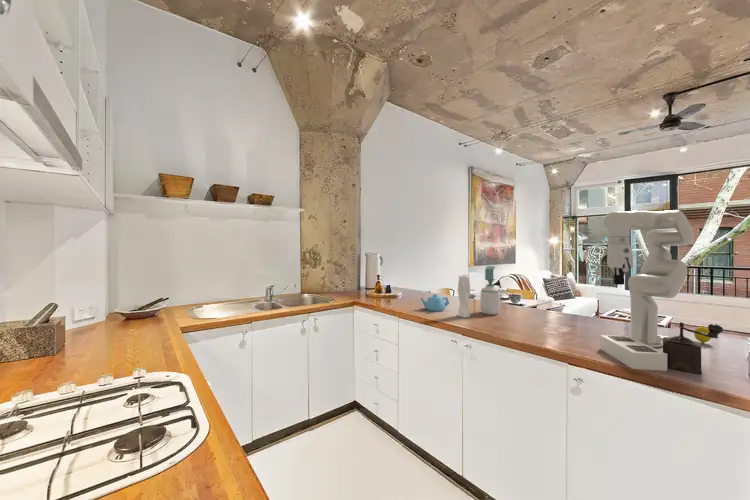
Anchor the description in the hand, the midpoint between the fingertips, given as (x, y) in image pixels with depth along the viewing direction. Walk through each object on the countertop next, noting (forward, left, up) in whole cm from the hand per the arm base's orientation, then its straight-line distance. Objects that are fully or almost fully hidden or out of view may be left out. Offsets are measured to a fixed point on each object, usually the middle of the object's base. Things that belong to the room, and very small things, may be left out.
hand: (619, 284), depth 137 cm
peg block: (0, +9, -29) cm, 30 cm away
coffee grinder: (-15, +17, -29) cm, 37 cm away
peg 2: (+1, +16, -29) cm, 33 cm away
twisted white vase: (+58, -58, -29) cm, 86 cm away
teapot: (+76, -78, -29) cm, 112 cm away
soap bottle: (+40, -71, -29) cm, 86 cm away
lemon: (-45, -19, -29) cm, 56 cm away
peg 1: (0, +3, -29) cm, 29 cm away
